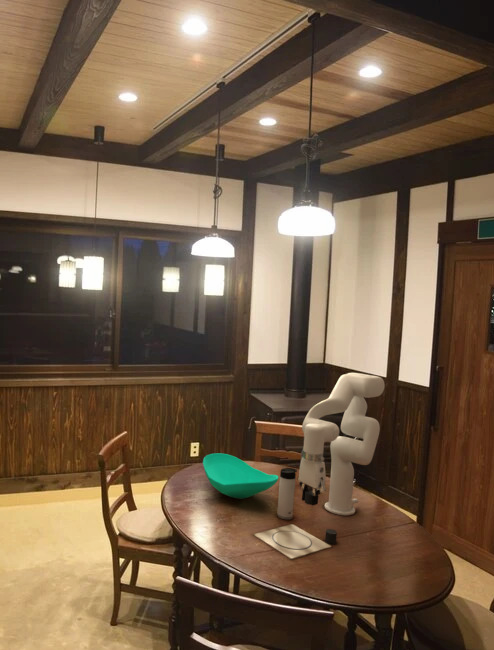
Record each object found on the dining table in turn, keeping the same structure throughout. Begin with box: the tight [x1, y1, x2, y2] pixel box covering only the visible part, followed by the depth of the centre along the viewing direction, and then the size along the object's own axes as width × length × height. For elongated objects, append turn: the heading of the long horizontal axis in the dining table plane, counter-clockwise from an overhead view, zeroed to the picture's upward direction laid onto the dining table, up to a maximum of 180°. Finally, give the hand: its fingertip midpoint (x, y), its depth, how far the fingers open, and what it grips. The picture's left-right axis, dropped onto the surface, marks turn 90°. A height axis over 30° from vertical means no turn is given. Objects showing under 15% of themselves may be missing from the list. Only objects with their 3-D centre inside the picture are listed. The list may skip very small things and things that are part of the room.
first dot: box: [304, 490, 313, 506], centre depth 208 cm, size 4×4×4 cm
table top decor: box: [202, 452, 280, 500], centre depth 239 cm, size 40×28×13 cm
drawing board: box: [253, 523, 332, 560], centre depth 199 cm, size 20×20×1 cm
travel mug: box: [276, 467, 298, 521], centre depth 219 cm, size 6×7×20 cm
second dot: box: [324, 528, 338, 545], centre depth 200 cm, size 4×4×4 cm
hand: (309, 501), depth 208 cm, fingers closed on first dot, 4 cm apart
